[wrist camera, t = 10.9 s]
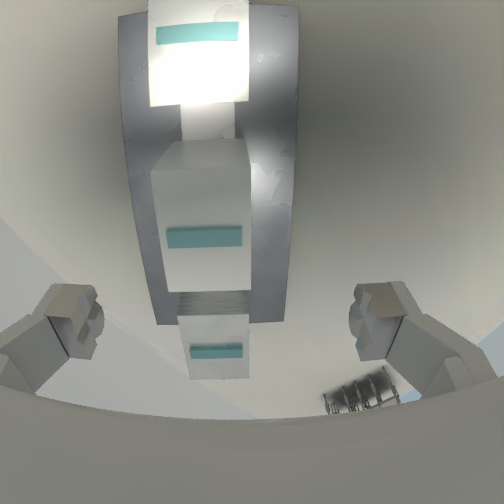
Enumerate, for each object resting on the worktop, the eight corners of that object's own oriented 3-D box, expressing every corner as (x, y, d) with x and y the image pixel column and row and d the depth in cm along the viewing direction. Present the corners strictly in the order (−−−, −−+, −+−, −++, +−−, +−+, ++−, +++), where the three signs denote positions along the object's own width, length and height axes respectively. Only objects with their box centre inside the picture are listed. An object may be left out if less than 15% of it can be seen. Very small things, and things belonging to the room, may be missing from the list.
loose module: (244, 138, 17) (251, 169, 12) (245, 231, 20) (251, 293, 15) (174, 141, 17) (148, 173, 12) (182, 233, 20) (167, 295, 15)
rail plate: (294, 3, 14) (325, -28, 9) (281, 315, 26) (293, 378, 20) (124, 12, 14) (79, -10, 8) (160, 319, 25) (148, 381, 20)
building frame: (395, 386, 34) (410, 424, 29) (338, 412, 36) (348, 451, 31) (384, 364, 31) (402, 407, 26) (320, 394, 33) (331, 438, 28)
